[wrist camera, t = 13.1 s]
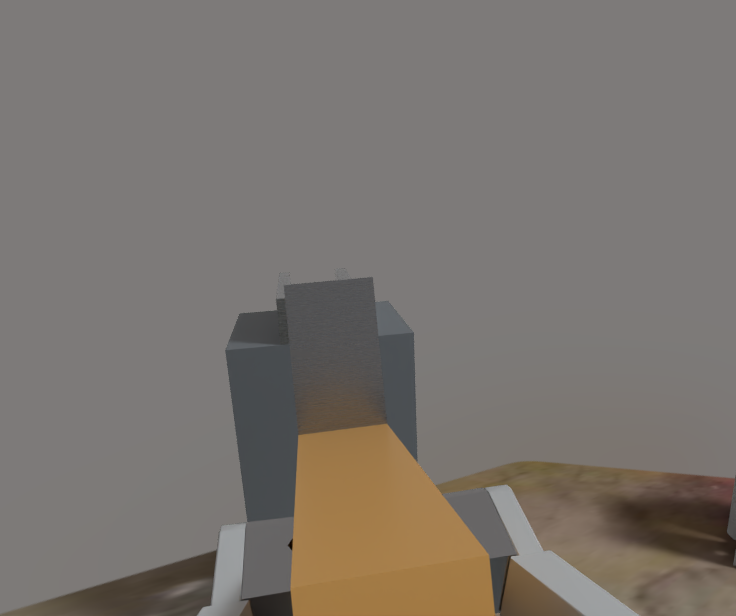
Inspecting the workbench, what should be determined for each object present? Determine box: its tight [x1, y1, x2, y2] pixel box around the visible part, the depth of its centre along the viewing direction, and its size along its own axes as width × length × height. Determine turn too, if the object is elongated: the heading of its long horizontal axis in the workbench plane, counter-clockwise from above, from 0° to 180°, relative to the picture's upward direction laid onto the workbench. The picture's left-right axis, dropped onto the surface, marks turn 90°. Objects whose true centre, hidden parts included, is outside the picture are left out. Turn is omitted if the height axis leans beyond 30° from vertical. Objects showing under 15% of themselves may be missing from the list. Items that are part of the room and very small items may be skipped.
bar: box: [284, 277, 495, 616], centre depth 16 cm, size 3×18×8 cm, turn 8°
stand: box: [226, 268, 417, 522], centre depth 39 cm, size 18×9×29 cm, turn 98°
